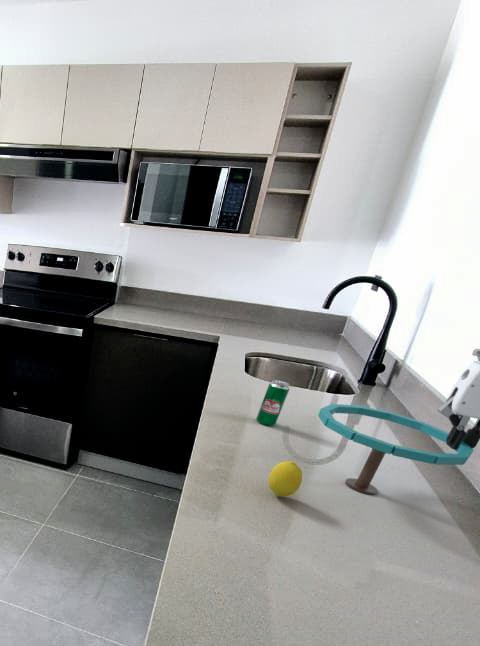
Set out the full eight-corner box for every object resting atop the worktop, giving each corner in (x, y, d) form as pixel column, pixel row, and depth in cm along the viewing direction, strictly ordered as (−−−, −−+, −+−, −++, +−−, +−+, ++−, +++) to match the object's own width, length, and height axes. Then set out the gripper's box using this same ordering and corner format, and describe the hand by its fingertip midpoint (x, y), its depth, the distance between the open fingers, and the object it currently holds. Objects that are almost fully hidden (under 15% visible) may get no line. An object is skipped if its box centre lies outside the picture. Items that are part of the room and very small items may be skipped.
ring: (434, 428, 112) (438, 421, 111) (495, 478, 89) (499, 470, 89) (309, 402, 118) (311, 396, 118) (335, 442, 96) (339, 435, 95)
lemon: (288, 507, 97) (304, 471, 93) (259, 494, 100) (273, 459, 97) (296, 498, 101) (311, 463, 97) (267, 486, 104) (281, 452, 100)
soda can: (254, 422, 139) (269, 381, 134) (257, 417, 143) (272, 378, 138) (273, 428, 136) (289, 387, 131) (276, 423, 140) (292, 383, 135)
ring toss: (371, 485, 111) (394, 441, 107) (380, 497, 106) (404, 451, 101) (341, 477, 113) (362, 433, 108) (349, 489, 107) (371, 444, 103)
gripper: (466, 356, 92) (419, 445, 99) (571, 374, 88) (515, 466, 95) (448, 347, 98) (405, 432, 106) (545, 364, 94) (494, 450, 102)
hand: (457, 447), depth 101 cm, fingers closed on ring
